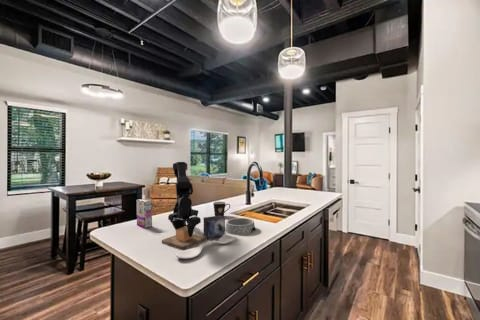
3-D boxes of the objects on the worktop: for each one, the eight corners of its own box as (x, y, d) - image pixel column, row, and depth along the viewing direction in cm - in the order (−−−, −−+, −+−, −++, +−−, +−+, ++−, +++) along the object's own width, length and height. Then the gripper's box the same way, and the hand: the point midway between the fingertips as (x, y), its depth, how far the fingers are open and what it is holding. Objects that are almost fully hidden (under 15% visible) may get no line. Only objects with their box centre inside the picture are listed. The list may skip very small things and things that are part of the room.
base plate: (185, 234, 133) (185, 226, 132) (206, 239, 123) (206, 231, 123) (161, 243, 120) (161, 234, 119) (182, 250, 110) (182, 240, 110)
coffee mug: (212, 217, 166) (211, 203, 166) (215, 214, 175) (215, 201, 174) (228, 218, 164) (227, 204, 164) (230, 215, 173) (230, 201, 172)
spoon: (237, 242, 119) (237, 236, 119) (183, 264, 96) (183, 256, 96) (225, 238, 126) (225, 232, 125) (171, 258, 102) (171, 250, 102)
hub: (183, 241, 117) (183, 231, 117) (175, 239, 121) (175, 229, 121) (192, 238, 122) (192, 228, 122) (184, 235, 126) (184, 226, 125)
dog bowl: (219, 232, 135) (219, 223, 135) (235, 224, 151) (235, 216, 151) (246, 237, 127) (246, 227, 127) (259, 227, 143) (259, 219, 143)
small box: (207, 240, 123) (206, 220, 123) (203, 236, 129) (202, 217, 128) (225, 236, 128) (225, 217, 127) (221, 233, 133) (220, 214, 133)
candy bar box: (152, 226, 147) (152, 200, 147) (145, 228, 144) (144, 201, 143) (144, 223, 155) (143, 198, 154) (136, 225, 151) (135, 199, 150)
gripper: (208, 204, 122) (208, 234, 122) (183, 200, 133) (184, 228, 133) (192, 208, 113) (192, 240, 113) (167, 204, 124) (167, 233, 124)
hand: (184, 235), depth 121 cm, fingers open, 9 cm apart
